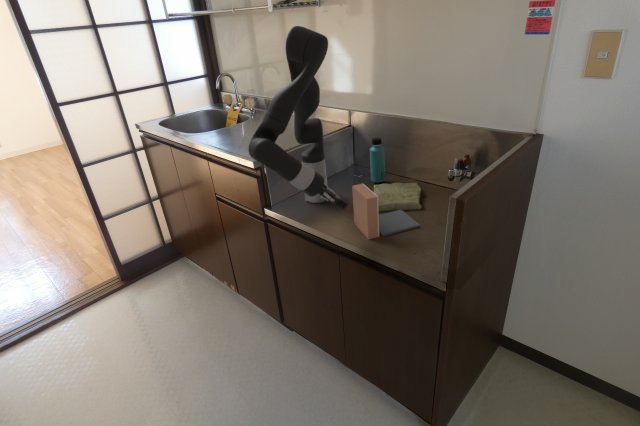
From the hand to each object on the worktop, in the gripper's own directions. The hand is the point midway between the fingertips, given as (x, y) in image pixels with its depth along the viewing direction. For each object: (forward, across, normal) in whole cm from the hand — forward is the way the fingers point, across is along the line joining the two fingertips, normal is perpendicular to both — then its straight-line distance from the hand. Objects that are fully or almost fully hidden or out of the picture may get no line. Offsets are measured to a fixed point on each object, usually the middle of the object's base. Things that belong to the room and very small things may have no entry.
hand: (345, 205), depth 127 cm
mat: (+20, 0, -4) cm, 21 cm away
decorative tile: (+28, +17, -12) cm, 35 cm away
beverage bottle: (+28, +35, -12) cm, 47 cm away
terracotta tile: (+13, 0, +3) cm, 13 cm away
